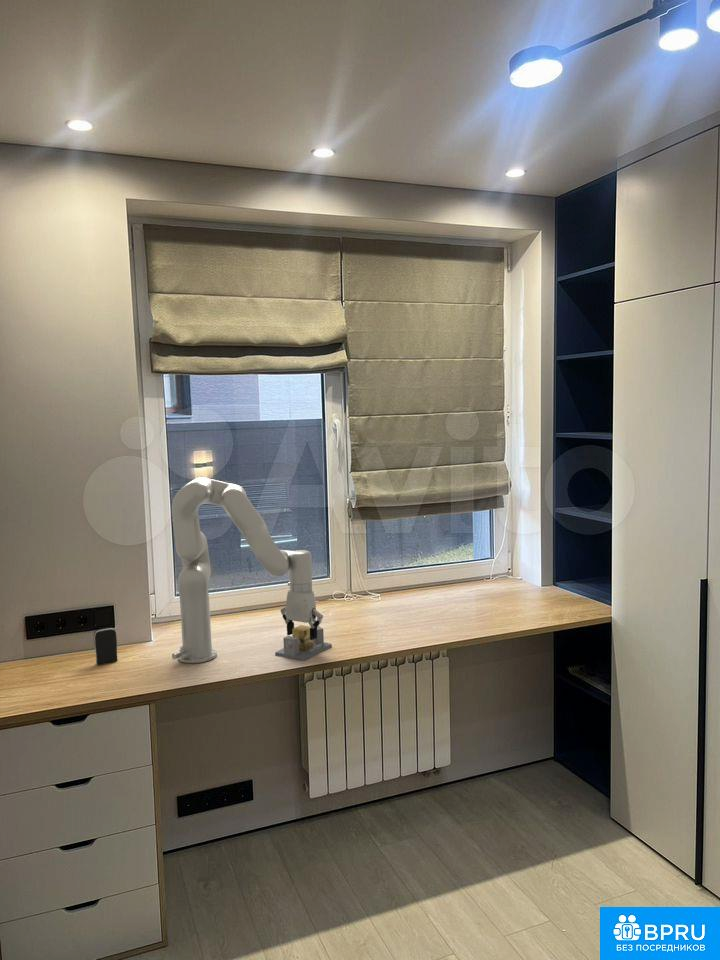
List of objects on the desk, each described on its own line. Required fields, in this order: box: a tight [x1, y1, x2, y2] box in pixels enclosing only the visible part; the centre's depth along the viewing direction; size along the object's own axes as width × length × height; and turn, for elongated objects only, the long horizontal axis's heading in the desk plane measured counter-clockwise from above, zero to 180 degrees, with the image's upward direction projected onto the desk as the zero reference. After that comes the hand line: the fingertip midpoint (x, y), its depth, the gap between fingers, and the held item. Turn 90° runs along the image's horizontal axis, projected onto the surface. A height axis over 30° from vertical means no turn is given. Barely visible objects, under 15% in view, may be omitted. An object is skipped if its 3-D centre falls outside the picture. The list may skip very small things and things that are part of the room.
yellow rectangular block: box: [291, 624, 314, 651], centre depth 241 cm, size 5×5×7 cm
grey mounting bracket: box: [274, 625, 333, 661], centre depth 241 cm, size 16×12×6 cm
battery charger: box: [93, 627, 118, 666], centre depth 235 cm, size 7×4×11 cm, turn 123°
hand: (301, 636), depth 241 cm, fingers open, 9 cm apart
